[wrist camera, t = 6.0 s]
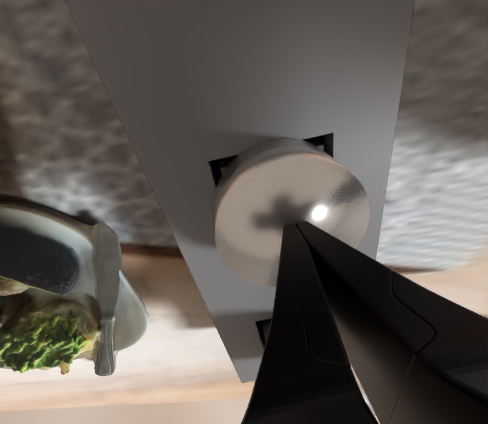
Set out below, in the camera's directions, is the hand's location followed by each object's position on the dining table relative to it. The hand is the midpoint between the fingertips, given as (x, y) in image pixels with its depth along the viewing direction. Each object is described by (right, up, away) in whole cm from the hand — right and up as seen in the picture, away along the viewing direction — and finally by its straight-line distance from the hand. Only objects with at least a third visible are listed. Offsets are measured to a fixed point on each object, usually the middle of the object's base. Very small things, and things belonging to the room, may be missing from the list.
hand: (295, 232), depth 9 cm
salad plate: (-18, -5, +10) cm, 22 cm away
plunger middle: (-1, +4, +6) cm, 7 cm away
